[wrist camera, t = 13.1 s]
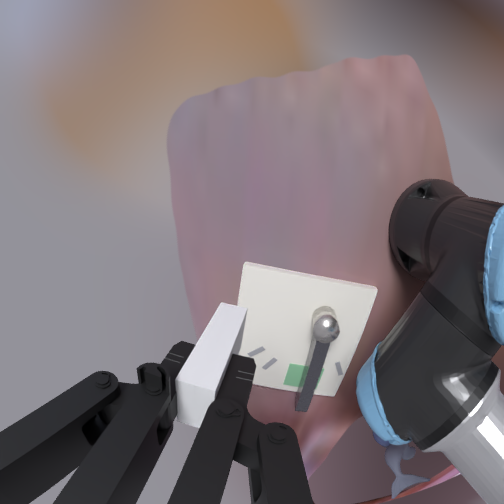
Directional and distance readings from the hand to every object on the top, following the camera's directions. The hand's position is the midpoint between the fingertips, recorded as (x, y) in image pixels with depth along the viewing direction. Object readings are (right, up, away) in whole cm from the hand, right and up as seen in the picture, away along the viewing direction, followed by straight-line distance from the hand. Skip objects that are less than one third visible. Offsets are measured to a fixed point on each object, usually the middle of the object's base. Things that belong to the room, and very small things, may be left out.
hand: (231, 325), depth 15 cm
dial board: (+8, -9, +27) cm, 30 cm away
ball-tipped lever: (+11, -13, +25) cm, 30 cm away
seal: (+32, -32, +30) cm, 54 cm away
